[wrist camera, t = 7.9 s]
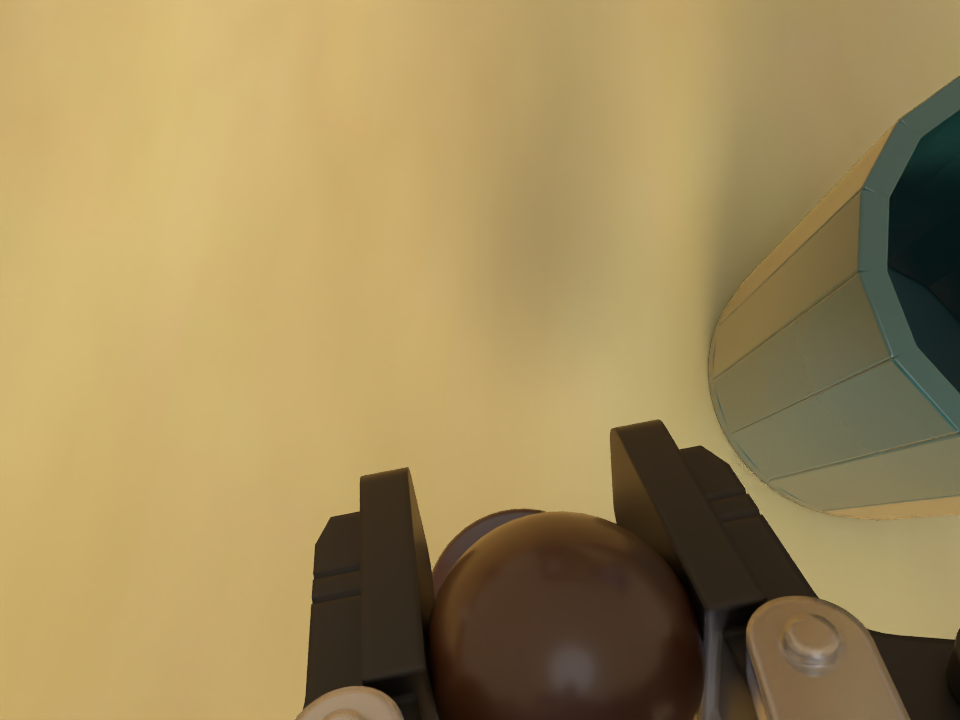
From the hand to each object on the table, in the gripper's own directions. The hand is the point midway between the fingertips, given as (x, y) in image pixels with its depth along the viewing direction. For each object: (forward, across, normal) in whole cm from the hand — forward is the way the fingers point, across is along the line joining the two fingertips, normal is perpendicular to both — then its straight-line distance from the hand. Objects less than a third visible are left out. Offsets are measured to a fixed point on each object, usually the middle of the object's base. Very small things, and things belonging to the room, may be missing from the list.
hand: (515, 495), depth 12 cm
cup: (+8, -10, +5) cm, 14 cm away
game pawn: (+2, 0, +5) cm, 6 cm away
